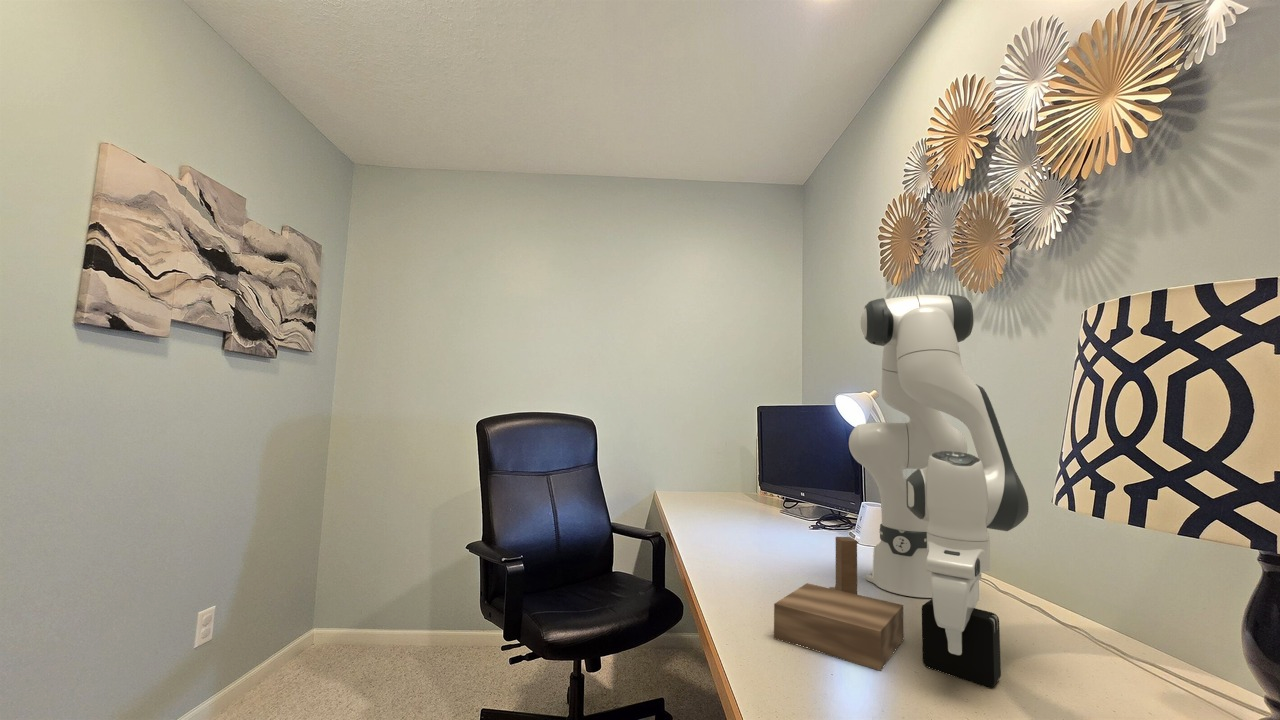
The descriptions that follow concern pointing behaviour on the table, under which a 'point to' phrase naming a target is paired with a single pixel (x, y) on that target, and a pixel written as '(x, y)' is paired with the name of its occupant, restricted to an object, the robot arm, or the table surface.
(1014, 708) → the table surface
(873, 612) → the walnut box
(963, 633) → the electronic device
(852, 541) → the wooden block
